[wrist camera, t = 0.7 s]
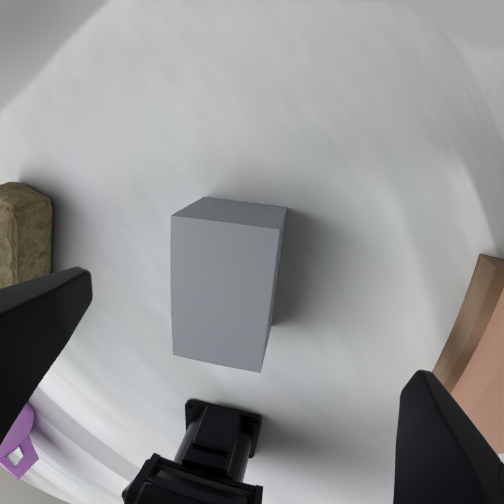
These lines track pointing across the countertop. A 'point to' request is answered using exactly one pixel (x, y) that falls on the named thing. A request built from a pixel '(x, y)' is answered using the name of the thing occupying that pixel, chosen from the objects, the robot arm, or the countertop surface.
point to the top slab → (486, 382)
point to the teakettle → (19, 443)
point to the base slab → (471, 320)
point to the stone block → (24, 234)
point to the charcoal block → (225, 280)
